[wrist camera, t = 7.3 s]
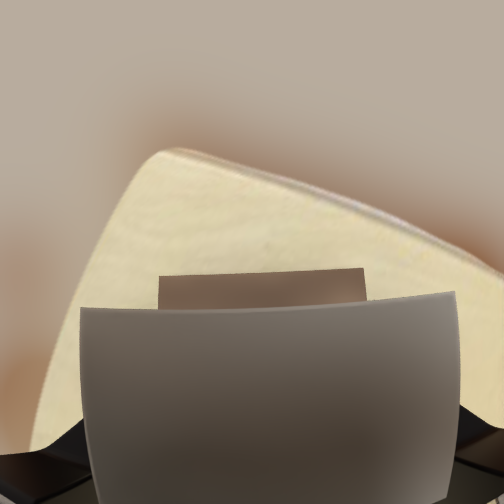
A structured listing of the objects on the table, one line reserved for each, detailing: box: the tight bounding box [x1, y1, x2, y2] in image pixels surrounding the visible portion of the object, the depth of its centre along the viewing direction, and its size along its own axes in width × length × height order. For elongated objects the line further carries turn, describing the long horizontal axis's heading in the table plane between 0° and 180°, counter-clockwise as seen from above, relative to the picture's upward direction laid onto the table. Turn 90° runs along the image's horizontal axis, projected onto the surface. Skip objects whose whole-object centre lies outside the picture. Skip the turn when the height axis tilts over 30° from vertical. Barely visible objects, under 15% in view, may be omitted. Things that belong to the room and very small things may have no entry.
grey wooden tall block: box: [80, 291, 460, 504], centre depth 9 cm, size 4×6×12 cm, turn 92°
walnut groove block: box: [158, 268, 367, 310], centre depth 18 cm, size 10×12×4 cm
